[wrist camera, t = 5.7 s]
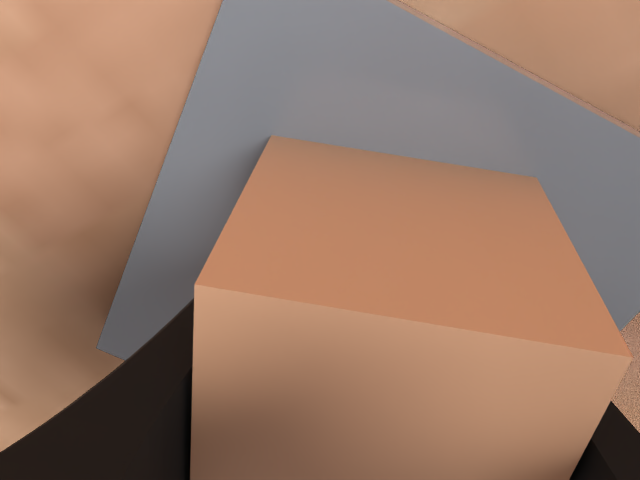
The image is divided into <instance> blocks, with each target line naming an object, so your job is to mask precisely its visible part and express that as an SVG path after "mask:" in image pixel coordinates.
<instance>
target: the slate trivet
mask: <svg viewBox="0 0 640 480" xmlns="http://www.w3.org/2000/svg"><path fill="white" fill-rule="evenodd" d="M271 135H274V136H280V137H286V138H292V139H299V140H305V141H311V142H317V143H324V144H330V145H336V146H342V147H349V148H355V149H361V150H368V151H374V152H380V153H386V154H393V155H399V156H405V157H411V158H418V159H424V160H430V161H436V162H443V163H449V164H455V165H461V166H468V167H474V168H480V169H486V170H493V171H499V172H505V173H511V174H518V175H524V176H530V177H536V178H537V179H538V181H539V183H540V185H541V187H542V188H543V190H544V192H545V194H546V196H547V198H548V200H549V201H550V203H551V205H552V207H553V209H554V211H555V213H556V214H557V216H558V218H559V220H560V222H561V224H562V226H563V227H564V229H565V231H566V233H567V235H568V237H569V239H570V240H571V242H572V244H573V246H574V248H575V250H576V252H577V253H578V255H579V257H580V259H581V261H582V263H583V265H584V266H585V268H586V270H587V272H588V274H589V276H590V278H591V280H592V281H593V283H594V285H595V287H596V289H597V291H598V293H599V294H600V296H601V298H602V300H603V302H604V304H605V306H606V307H607V309H608V311H609V313H610V315H611V317H612V319H613V320H614V322H615V324H616V326H617V328H618V330H619V332H620V331H621V330H622V329H623V328H624V327H625V326H626V325H627V324H628V323H629V322H630V321H631V320H632V319H633V318H634V317H635V316H636V315H637V314H638V313H639V312H640V132H639V131H638V130H636V129H634V128H632V127H630V126H628V125H627V124H625V123H623V122H621V121H619V120H617V119H616V118H614V117H612V116H610V115H608V114H606V113H605V112H603V111H601V110H599V109H597V108H595V107H594V106H592V105H590V104H588V103H586V102H584V101H582V100H581V99H579V98H577V97H575V96H573V95H571V94H570V93H568V92H566V91H564V90H562V89H560V88H559V87H557V86H555V85H553V84H551V83H549V82H548V81H546V80H544V79H542V78H540V77H538V76H537V75H535V74H533V73H531V72H529V71H527V70H526V69H524V68H522V67H520V66H518V65H516V64H514V63H513V62H511V61H509V60H507V59H505V58H503V57H502V56H500V55H498V54H496V53H494V52H492V51H491V50H489V49H487V48H485V47H483V46H481V45H480V44H478V43H476V42H474V41H472V40H470V39H469V38H467V37H465V36H463V35H461V34H459V33H458V32H456V31H454V30H452V29H450V28H448V27H447V26H445V25H443V24H441V23H439V22H437V21H435V20H434V19H432V18H430V17H428V16H426V15H424V14H423V13H421V12H419V11H417V10H415V9H413V8H412V7H410V6H408V5H406V4H404V3H402V2H401V1H399V0H223V2H222V4H221V7H220V10H219V13H218V15H217V18H216V21H215V24H214V26H213V29H212V32H211V35H210V37H209V40H208V43H207V45H206V48H205V51H204V54H203V56H202V59H201V62H200V65H199V67H198V70H197V73H196V76H195V78H194V81H193V84H192V87H191V89H190V92H189V95H188V97H187V100H186V103H185V106H184V108H183V111H182V114H181V117H180V119H179V122H178V125H177V128H176V130H175V133H174V136H173V139H172V141H171V144H170V147H169V150H168V152H167V155H166V158H165V160H164V163H163V166H162V169H161V171H160V174H159V177H158V180H157V182H156V185H155V188H154V191H153V193H152V196H151V199H150V202H149V204H148V207H147V210H146V212H145V215H144V218H143V221H142V223H141V226H140V229H139V232H138V234H137V237H136V240H135V243H134V245H133V248H132V251H131V254H130V256H129V259H128V262H127V264H126V267H125V270H124V273H123V275H122V278H121V281H120V284H119V286H118V289H117V292H116V295H115V297H114V300H113V303H112V306H111V308H110V311H109V314H108V317H107V319H106V322H105V325H104V327H103V330H102V333H101V336H100V338H99V341H98V344H97V347H96V348H97V349H99V350H102V351H104V352H106V353H109V354H111V355H113V356H116V357H118V358H121V359H123V360H125V361H126V360H127V359H128V358H129V357H130V356H131V355H133V354H134V353H135V352H136V351H137V350H138V349H139V348H141V347H142V346H143V345H144V344H145V343H146V342H148V341H149V340H150V339H151V338H152V337H153V336H154V335H155V334H156V333H157V332H159V331H160V330H161V329H162V328H163V327H164V326H165V325H166V324H167V323H168V322H169V321H170V320H171V319H173V318H174V317H175V316H176V315H177V314H178V313H179V312H180V311H181V310H182V309H183V308H184V307H185V306H186V305H187V304H188V303H189V302H190V301H191V300H192V299H193V298H194V285H195V283H196V281H197V279H198V277H199V275H200V273H201V271H202V269H203V267H204V265H205V263H206V261H207V259H208V257H209V255H210V253H211V251H212V250H213V248H214V246H215V244H216V242H217V240H218V238H219V236H220V234H221V232H222V230H223V228H224V226H225V224H226V222H227V220H228V218H229V217H230V215H231V213H232V211H233V209H234V207H235V205H236V203H237V201H238V199H239V197H240V195H241V193H242V191H243V189H244V187H245V185H246V184H247V182H248V180H249V178H250V176H251V174H252V172H253V170H254V168H255V166H256V164H257V162H258V160H259V158H260V156H261V154H262V152H263V151H264V149H265V147H266V145H267V143H268V141H269V139H270V137H271Z"/></svg>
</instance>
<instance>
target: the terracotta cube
mask: <svg viewBox="0 0 640 480" xmlns="http://www.w3.org/2000/svg"><path fill="white" fill-rule="evenodd" d="M632 360H633V356H632V354H631V352H630V350H629V348H628V346H627V345H626V343H625V341H624V339H623V337H622V335H621V333H620V332H619V330H618V328H617V326H616V324H615V322H614V320H613V319H612V317H611V315H610V313H609V311H608V309H607V307H606V306H605V304H604V302H603V300H602V298H601V296H600V294H599V293H598V291H597V289H596V287H595V285H594V283H593V281H592V280H591V278H590V276H589V274H588V272H587V270H586V268H585V266H584V265H583V263H582V261H581V259H580V257H579V255H578V253H577V252H576V250H575V248H574V246H573V244H572V242H571V240H570V239H569V237H568V235H567V233H566V231H565V229H564V227H563V226H562V224H561V222H560V220H559V218H558V216H557V214H556V213H555V211H554V209H553V207H552V205H551V203H550V201H549V200H548V198H547V196H546V194H545V192H544V190H543V188H542V187H541V185H540V183H539V181H538V179H537V178H536V177H530V176H524V175H518V174H511V173H505V172H499V171H493V170H486V169H480V168H474V167H468V166H461V165H455V164H449V163H443V162H436V161H430V160H424V159H418V158H411V157H405V156H399V155H393V154H386V153H380V152H374V151H368V150H361V149H355V148H349V147H342V146H336V145H330V144H324V143H317V142H311V141H305V140H299V139H292V138H286V137H280V136H274V135H271V137H270V139H269V141H268V143H267V145H266V147H265V149H264V151H263V152H262V154H261V156H260V158H259V160H258V162H257V164H256V166H255V168H254V170H253V172H252V174H251V176H250V178H249V180H248V182H247V184H246V185H245V187H244V189H243V191H242V193H241V195H240V197H239V199H238V201H237V203H236V205H235V207H234V209H233V211H232V213H231V215H230V217H229V218H228V220H227V222H226V224H225V226H224V228H223V230H222V232H221V234H220V236H219V238H218V240H217V242H216V244H215V246H214V248H213V250H212V251H211V253H210V255H209V257H208V259H207V261H206V263H205V265H204V267H203V269H202V271H201V273H200V275H199V277H198V279H197V281H196V283H195V285H194V329H193V373H192V417H191V461H190V480H569V479H570V477H571V475H572V473H573V471H574V469H575V467H576V465H577V464H578V462H579V460H580V458H581V456H582V454H583V452H584V450H585V448H586V447H587V445H588V443H589V441H590V439H591V437H592V435H593V433H594V431H595V430H596V428H597V426H598V424H599V422H600V420H601V418H602V416H603V414H604V413H605V411H606V409H607V407H608V405H609V403H610V401H611V399H612V397H613V396H614V394H615V392H616V390H617V388H618V386H619V384H620V382H621V380H622V379H623V377H624V375H625V373H626V371H627V369H628V367H629V365H630V363H631V362H632Z"/></svg>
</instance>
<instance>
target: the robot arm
mask: <svg viewBox="0 0 640 480" xmlns="http://www.w3.org/2000/svg"><path fill="white" fill-rule="evenodd" d="M193 329H194V298H193V299H192V300H191V301H190V302H189V303H188V304H187V305H186V306H185V307H184V308H183V309H182V310H181V311H180V312H179V313H178V314H177V315H176V316H175V317H174V318H173V319H171V320H170V321H169V322H168V323H167V324H166V325H165V326H164V327H163V328H162V329H161V330H160V331H159V332H157V333H156V334H155V335H154V336H153V337H152V338H151V339H150V340H149V341H148V342H146V343H145V344H144V345H143V346H142V347H141V348H139V349H138V350H137V351H136V352H135V353H134V354H133V355H131V356H130V357H129V358H128V359H127V360H126V361H124V362H123V363H122V364H121V365H120V366H119V367H117V368H116V369H115V370H114V371H113V372H111V373H110V374H109V375H108V376H106V377H105V378H104V379H102V380H101V381H100V382H99V383H97V384H96V385H95V386H93V387H92V388H91V389H90V390H88V391H87V392H86V393H84V394H83V395H82V396H81V397H79V398H78V399H77V400H75V401H74V402H73V403H71V404H70V405H69V406H67V407H66V408H65V409H63V410H62V411H61V412H59V413H58V414H56V415H55V416H54V417H52V418H51V419H49V420H48V421H47V422H45V423H44V424H42V425H41V426H39V427H38V428H36V429H35V430H34V431H32V432H31V433H29V434H27V435H26V436H24V437H23V438H21V439H20V440H18V441H17V442H15V443H14V444H12V445H11V446H9V447H8V448H6V449H5V450H3V451H1V452H0V480H190V461H191V417H192V373H193ZM569 480H640V433H639V432H638V431H637V430H636V429H635V427H634V426H633V425H632V424H631V423H630V422H629V421H628V420H627V418H626V417H625V416H624V415H623V414H622V413H621V412H620V411H619V409H618V408H617V407H616V406H615V405H614V404H613V403H612V401H610V403H609V405H608V407H607V409H606V411H605V413H604V414H603V416H602V418H601V420H600V422H599V424H598V426H597V428H596V430H595V431H594V433H593V435H592V437H591V439H590V441H589V443H588V445H587V447H586V448H585V450H584V452H583V454H582V456H581V458H580V460H579V462H578V464H577V465H576V467H575V469H574V471H573V473H572V475H571V477H570V479H569Z"/></svg>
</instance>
